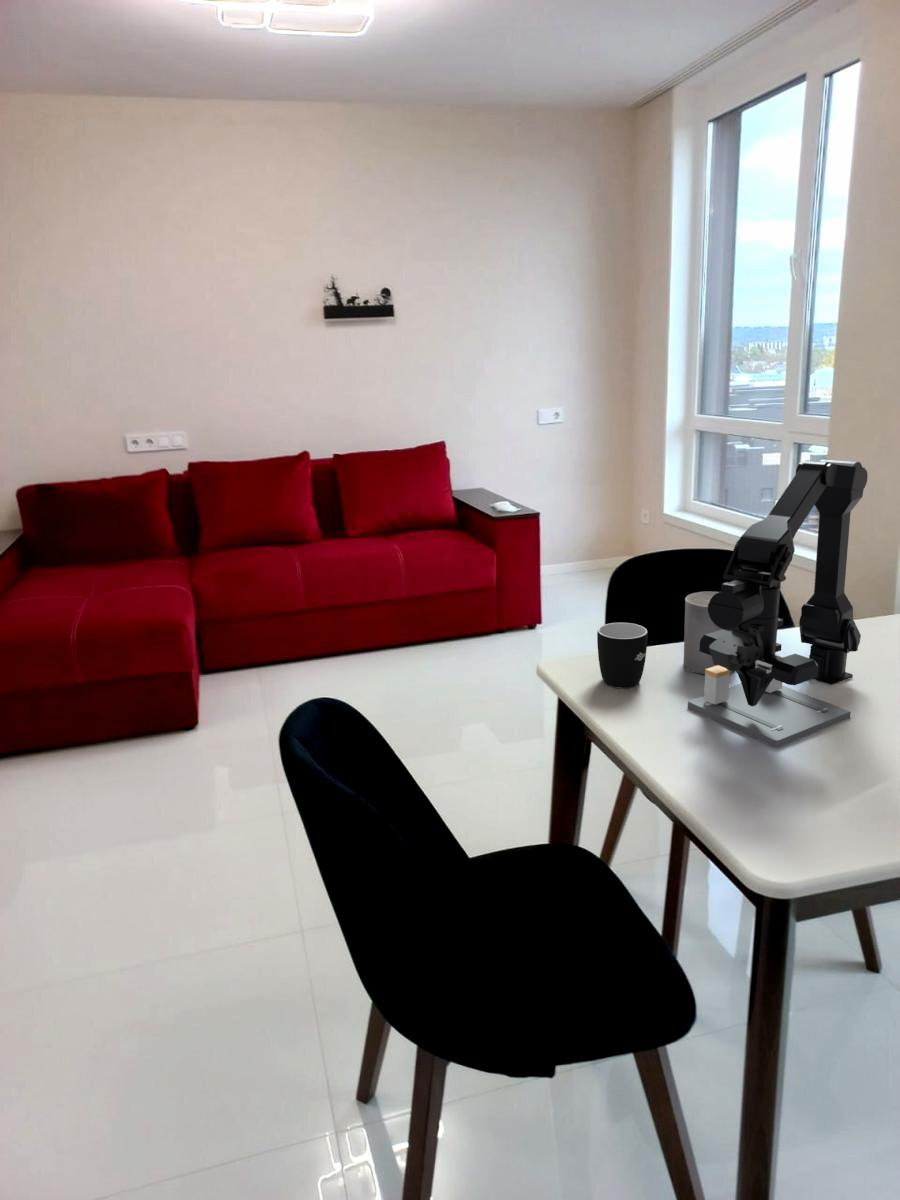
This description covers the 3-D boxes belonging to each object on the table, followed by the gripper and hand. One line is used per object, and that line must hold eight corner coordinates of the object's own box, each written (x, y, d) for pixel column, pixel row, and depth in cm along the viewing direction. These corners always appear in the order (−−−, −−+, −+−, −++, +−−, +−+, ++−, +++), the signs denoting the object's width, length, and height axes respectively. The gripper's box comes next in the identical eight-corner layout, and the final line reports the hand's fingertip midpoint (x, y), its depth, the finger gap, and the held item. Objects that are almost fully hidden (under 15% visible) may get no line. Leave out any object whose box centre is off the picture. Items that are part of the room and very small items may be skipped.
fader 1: (717, 695, 140) (718, 664, 138) (728, 700, 138) (730, 669, 136) (703, 699, 138) (705, 669, 136) (715, 704, 136) (716, 673, 134)
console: (759, 683, 148) (759, 676, 147) (850, 718, 133) (851, 710, 132) (687, 707, 139) (688, 700, 139) (776, 748, 124) (776, 740, 124)
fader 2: (770, 683, 143) (772, 654, 142) (782, 688, 141) (784, 658, 140) (757, 688, 142) (759, 658, 140) (769, 693, 140) (771, 662, 138)
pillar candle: (721, 655, 162) (724, 582, 157) (745, 673, 152) (749, 596, 148) (675, 660, 160) (676, 587, 156) (695, 678, 151) (698, 601, 147)
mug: (638, 694, 145) (640, 641, 142) (590, 687, 149) (590, 635, 147) (655, 670, 155) (657, 620, 152) (610, 664, 160) (610, 615, 157)
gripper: (676, 608, 131) (673, 698, 135) (773, 640, 115) (766, 740, 120) (725, 596, 136) (720, 682, 140) (824, 624, 120) (815, 721, 125)
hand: (752, 705), depth 131 cm, fingers closed
